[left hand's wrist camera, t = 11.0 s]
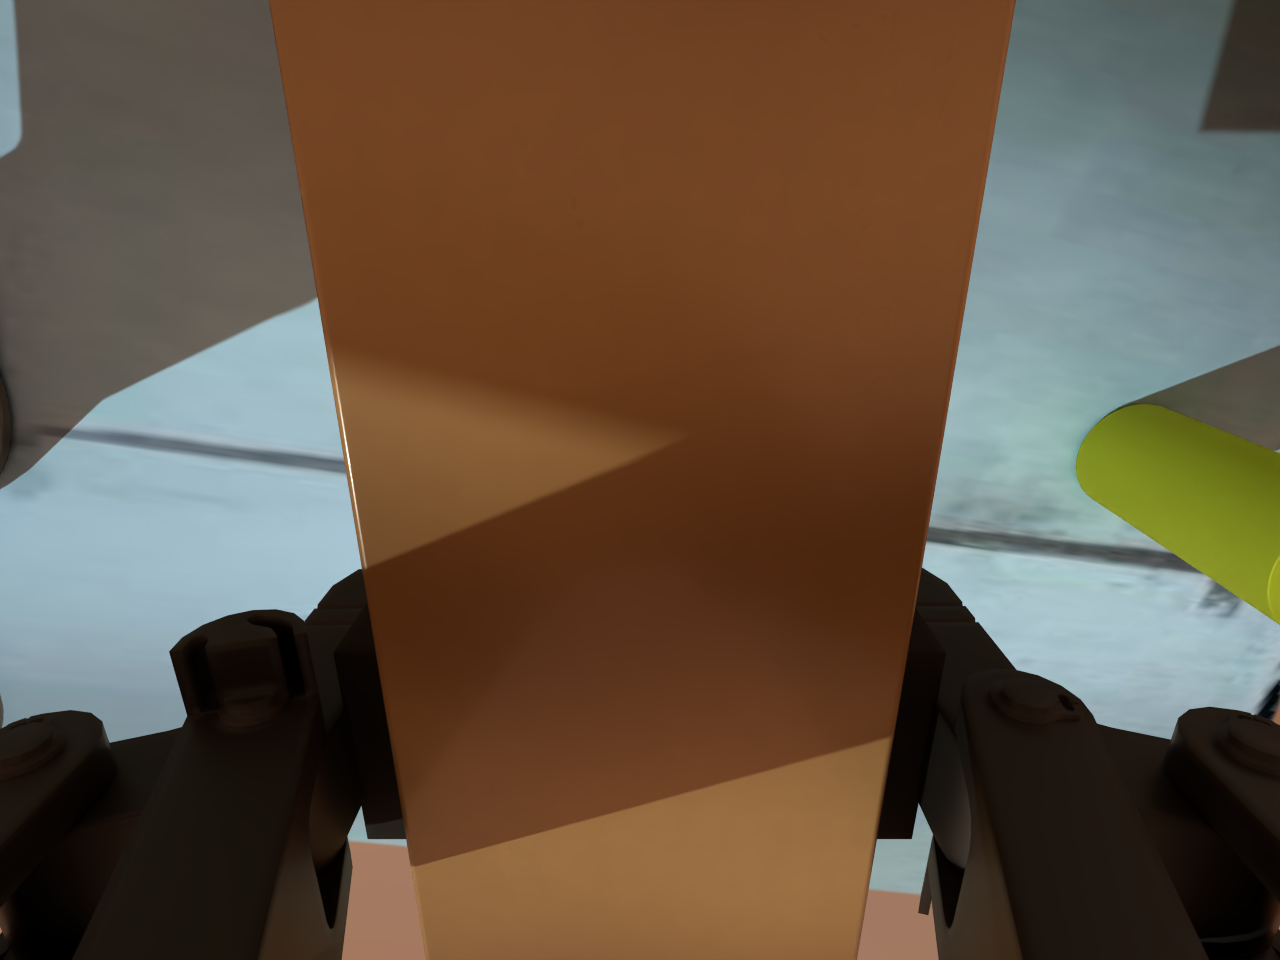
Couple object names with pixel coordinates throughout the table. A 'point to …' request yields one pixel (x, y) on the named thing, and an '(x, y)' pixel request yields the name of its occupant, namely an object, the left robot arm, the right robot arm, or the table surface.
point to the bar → (641, 437)
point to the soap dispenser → (1192, 495)
